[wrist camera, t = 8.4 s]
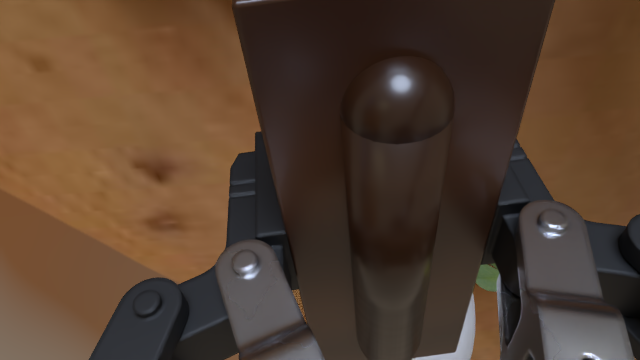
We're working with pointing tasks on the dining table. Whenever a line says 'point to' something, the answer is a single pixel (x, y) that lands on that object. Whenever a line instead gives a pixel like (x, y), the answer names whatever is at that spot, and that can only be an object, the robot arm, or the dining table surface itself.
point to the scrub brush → (389, 154)
